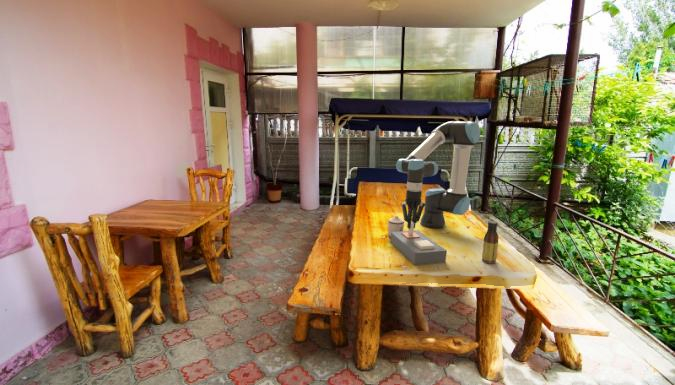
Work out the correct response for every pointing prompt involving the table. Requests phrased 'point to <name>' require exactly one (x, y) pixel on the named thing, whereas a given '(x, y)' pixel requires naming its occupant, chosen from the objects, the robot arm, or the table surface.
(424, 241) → the ivory key
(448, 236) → the table surface
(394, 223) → the teacup with lid
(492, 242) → the sauce bottle
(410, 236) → the terracotta key
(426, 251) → the key box
